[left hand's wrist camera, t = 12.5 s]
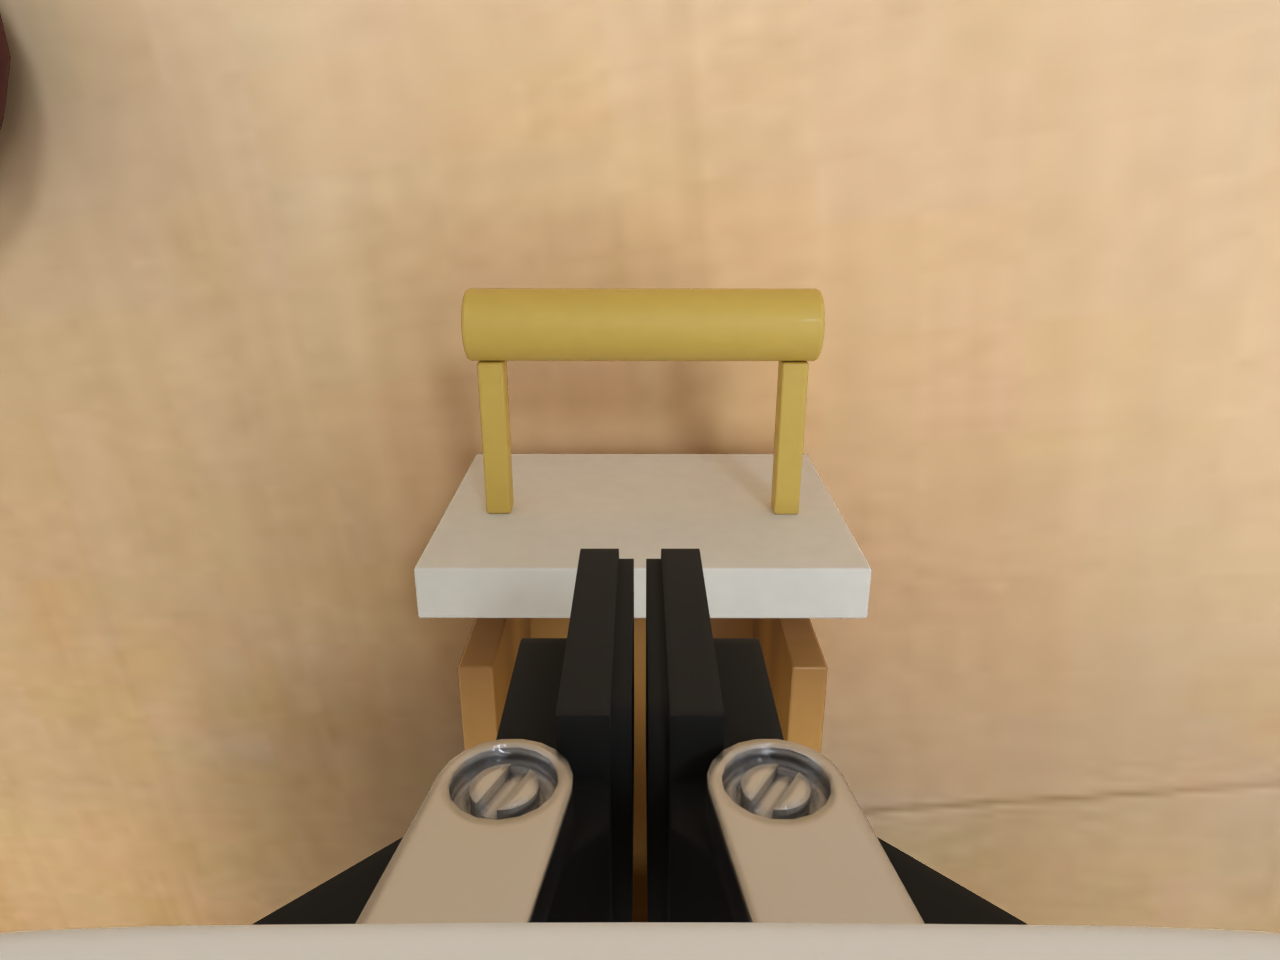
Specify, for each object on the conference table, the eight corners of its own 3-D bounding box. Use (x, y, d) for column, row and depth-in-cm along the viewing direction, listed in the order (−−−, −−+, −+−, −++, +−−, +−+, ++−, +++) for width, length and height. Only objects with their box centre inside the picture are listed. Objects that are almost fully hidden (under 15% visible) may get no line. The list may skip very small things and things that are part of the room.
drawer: (463, 265, 24) (387, 313, 17) (820, 265, 24) (898, 314, 17) (508, 934, 32) (470, 1159, 25) (774, 934, 32) (812, 1159, 25)
